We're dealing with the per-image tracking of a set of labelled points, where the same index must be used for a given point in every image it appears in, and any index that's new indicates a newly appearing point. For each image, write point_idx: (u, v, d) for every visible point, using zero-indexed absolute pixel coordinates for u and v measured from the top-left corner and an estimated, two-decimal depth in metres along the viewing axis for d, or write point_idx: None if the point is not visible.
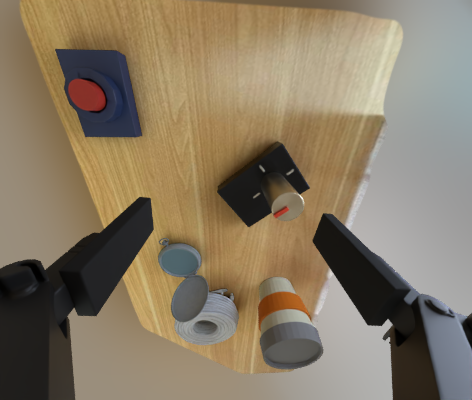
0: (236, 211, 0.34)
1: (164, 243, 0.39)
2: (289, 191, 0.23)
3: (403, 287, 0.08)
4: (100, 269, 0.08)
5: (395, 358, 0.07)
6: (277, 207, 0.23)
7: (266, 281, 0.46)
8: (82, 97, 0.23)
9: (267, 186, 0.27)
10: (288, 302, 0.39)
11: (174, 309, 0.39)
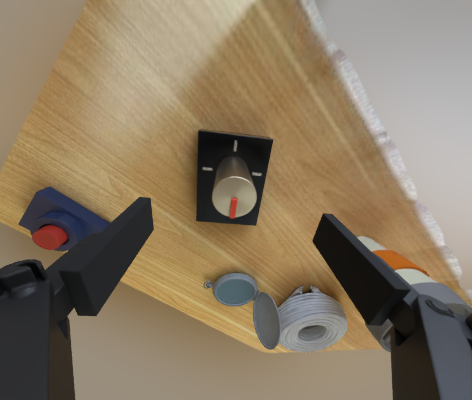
0: (229, 222, 0.29)
1: (208, 286, 0.38)
2: (217, 182, 0.17)
3: (403, 287, 0.08)
4: (100, 269, 0.08)
5: (395, 358, 0.07)
6: (224, 207, 0.17)
7: None
8: (46, 242, 0.26)
9: None
10: None
11: (262, 337, 0.36)
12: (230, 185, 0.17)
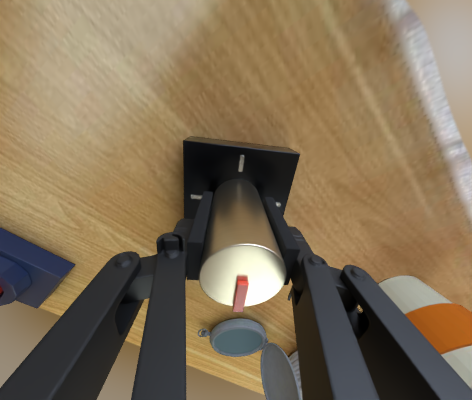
0: None
1: (204, 335, 0.30)
2: (210, 250, 0.08)
3: (294, 248, 0.09)
4: (203, 244, 0.10)
5: (295, 317, 0.08)
6: (222, 293, 0.09)
7: None
8: None
9: None
10: (436, 337, 0.19)
11: None
12: (235, 259, 0.08)
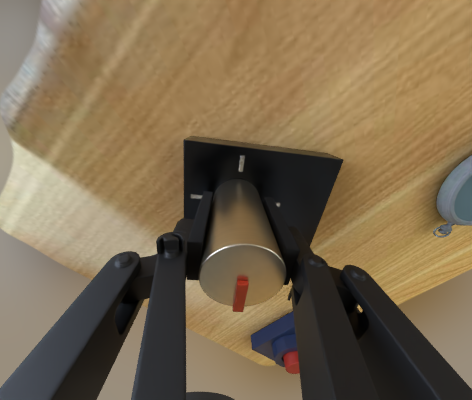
0: (323, 204, 0.17)
1: (447, 231, 0.22)
2: (210, 249, 0.08)
3: (294, 248, 0.09)
4: (203, 244, 0.10)
5: (295, 317, 0.08)
6: (222, 292, 0.09)
7: None
8: None
9: None
10: None
11: None
12: (235, 259, 0.08)
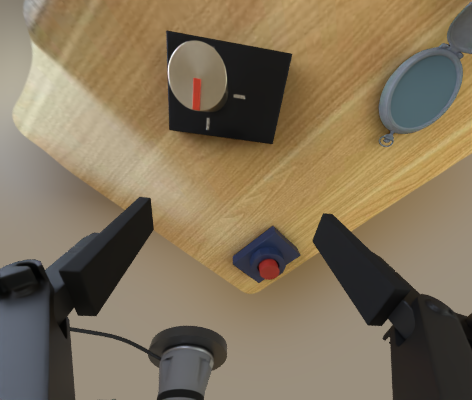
0: (279, 98, 0.22)
1: (389, 139, 0.26)
2: (175, 53, 0.13)
3: (403, 287, 0.08)
4: (100, 269, 0.08)
5: (395, 358, 0.07)
6: (184, 92, 0.14)
7: None
8: (271, 272, 0.32)
9: None
10: None
11: None
12: (190, 55, 0.13)
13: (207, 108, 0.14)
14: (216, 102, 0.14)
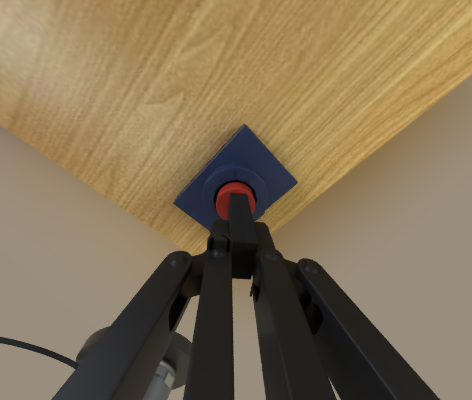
0: None
1: None
2: None
3: (253, 242, 0.09)
4: None
5: (256, 313, 0.08)
6: None
7: None
8: None
9: None
10: None
11: None
12: None
13: None
14: None
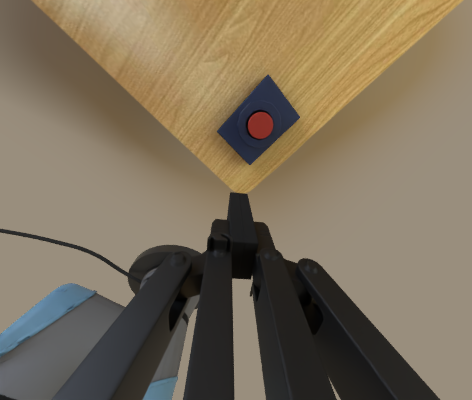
0: None
1: None
2: None
3: (253, 242, 0.09)
4: None
5: (256, 313, 0.08)
6: None
7: None
8: (262, 125, 0.25)
9: None
10: None
11: None
12: None
13: None
14: None
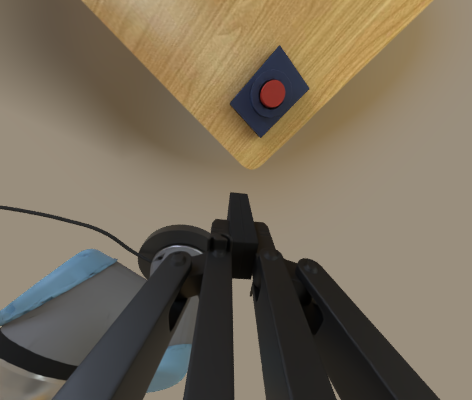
0: None
1: None
2: None
3: (253, 242, 0.09)
4: None
5: (256, 313, 0.08)
6: None
7: None
8: (275, 93, 0.27)
9: None
10: None
11: None
12: None
13: None
14: None
